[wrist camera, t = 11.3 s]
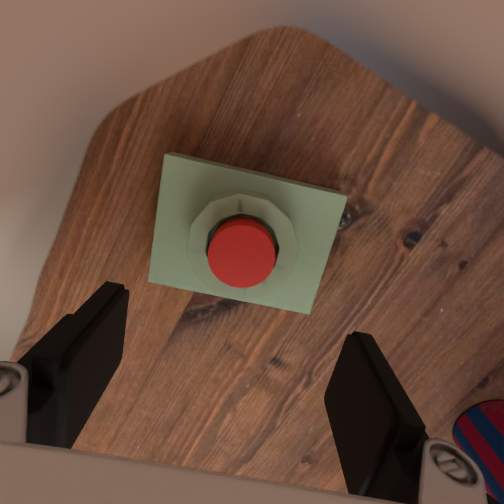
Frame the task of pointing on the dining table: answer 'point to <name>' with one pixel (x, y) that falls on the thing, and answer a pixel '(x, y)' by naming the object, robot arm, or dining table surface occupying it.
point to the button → (241, 253)
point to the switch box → (242, 206)
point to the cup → (484, 443)
